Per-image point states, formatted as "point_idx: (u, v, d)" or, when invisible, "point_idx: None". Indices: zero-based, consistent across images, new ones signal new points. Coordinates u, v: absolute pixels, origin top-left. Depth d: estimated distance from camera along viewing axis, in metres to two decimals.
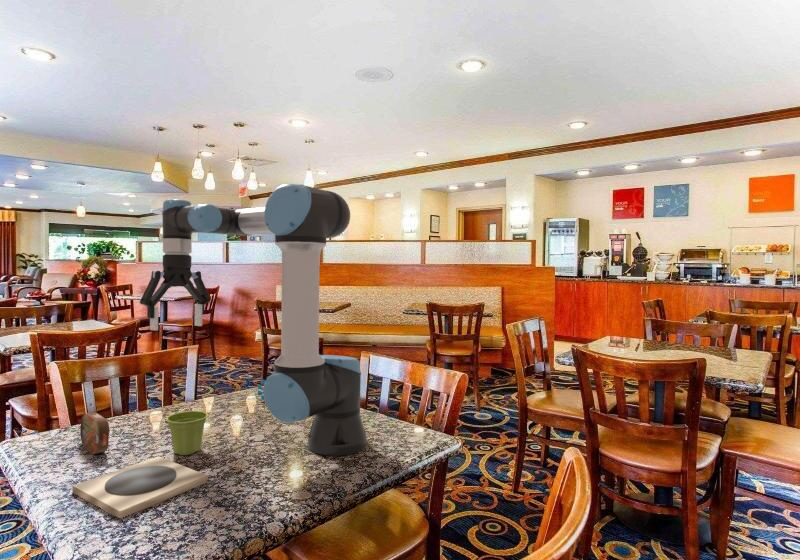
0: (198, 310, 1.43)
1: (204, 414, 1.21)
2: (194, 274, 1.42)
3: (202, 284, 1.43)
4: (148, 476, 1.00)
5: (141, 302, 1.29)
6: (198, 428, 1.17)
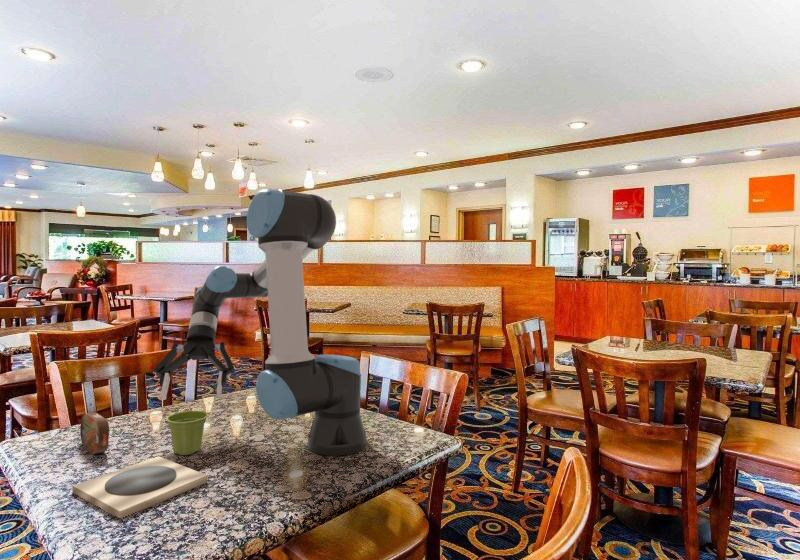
0: None
1: (204, 414, 1.21)
2: None
3: (225, 353, 1.34)
4: (148, 476, 1.00)
5: (155, 372, 1.29)
6: (198, 428, 1.17)
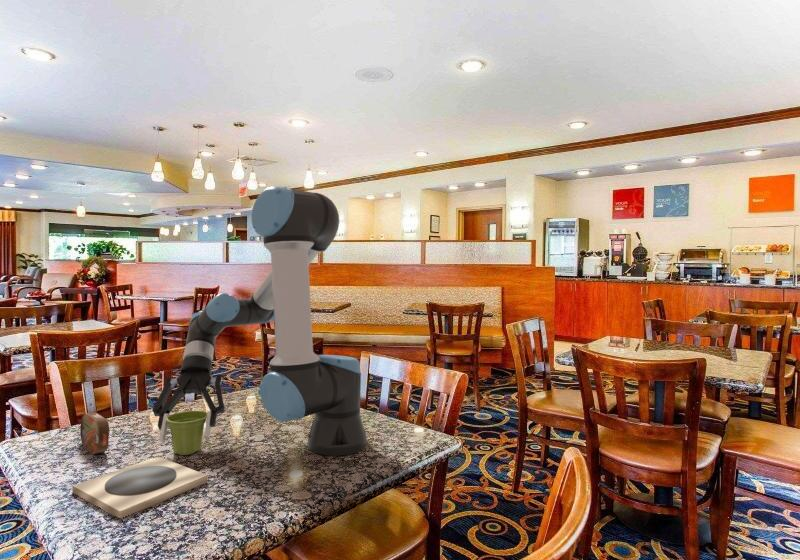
0: (207, 419, 1.19)
1: (204, 414, 1.21)
2: (214, 379, 1.27)
3: (218, 389, 1.24)
4: (148, 476, 1.00)
5: (154, 413, 1.19)
6: (198, 428, 1.17)
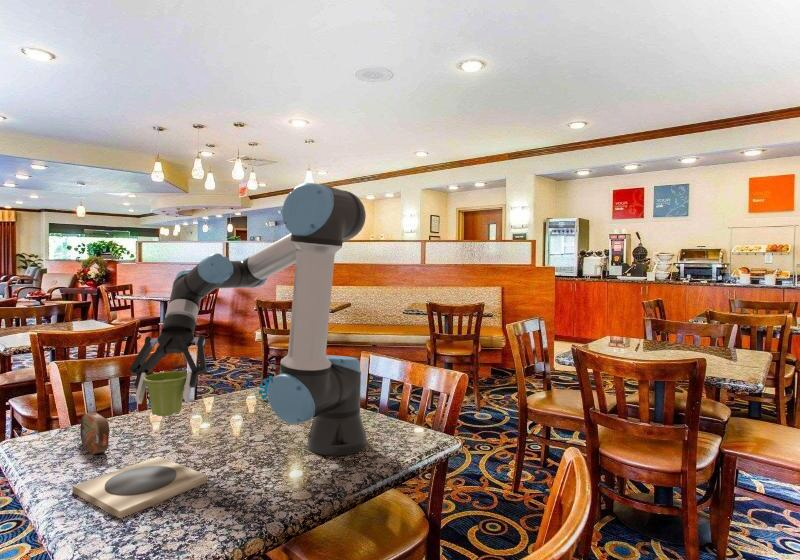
0: None
1: (185, 375, 1.15)
2: (197, 339, 1.20)
3: (200, 349, 1.17)
4: (148, 476, 1.00)
5: None
6: (177, 388, 1.10)
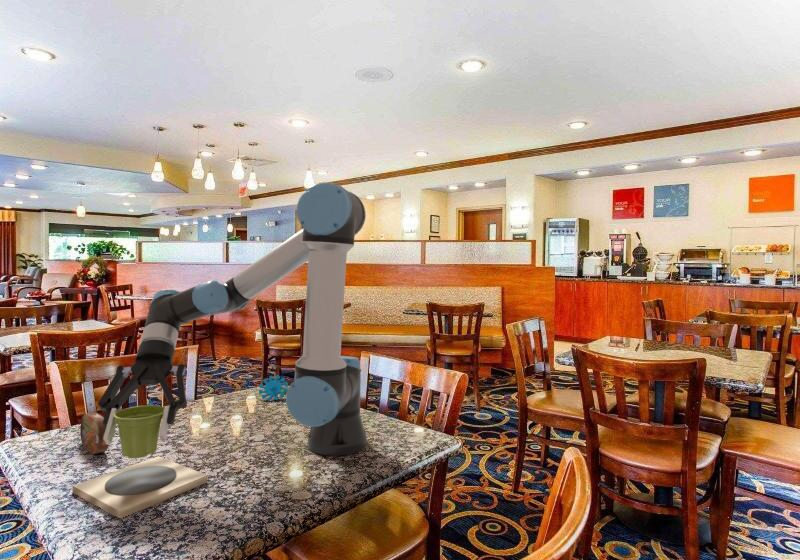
0: None
1: (161, 409, 1.02)
2: (176, 369, 1.07)
3: (180, 380, 1.05)
4: (148, 476, 1.00)
5: None
6: (152, 425, 0.97)
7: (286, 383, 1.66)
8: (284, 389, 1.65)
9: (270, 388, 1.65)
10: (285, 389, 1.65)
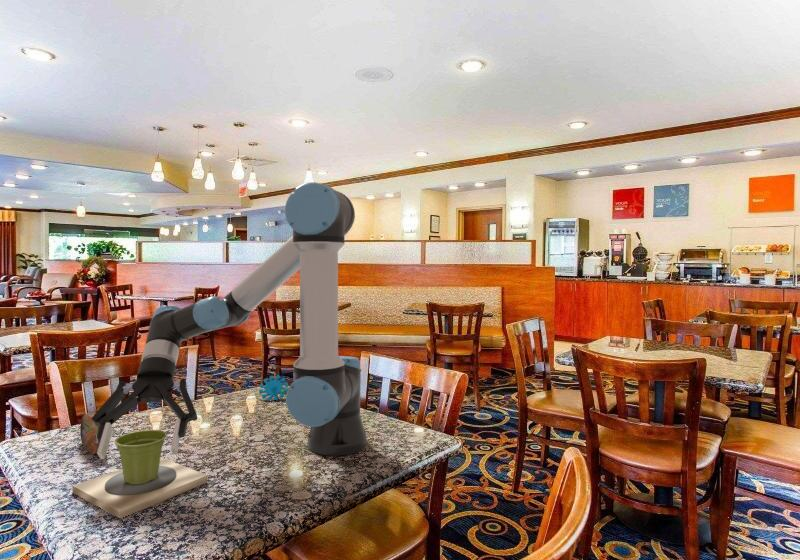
0: None
1: (163, 434, 1.02)
2: None
3: (185, 394, 1.05)
4: None
5: None
6: (153, 451, 0.97)
7: (286, 383, 1.67)
8: (284, 389, 1.65)
9: (270, 388, 1.65)
10: (285, 389, 1.65)
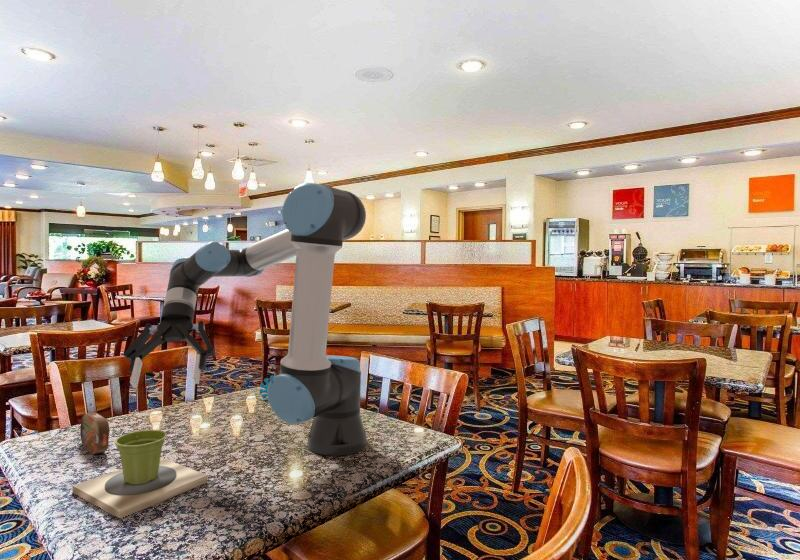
0: None
1: (163, 434, 1.02)
2: (196, 325, 1.21)
3: (203, 333, 1.19)
4: None
5: None
6: (153, 451, 0.97)
7: None
8: None
9: None
10: None
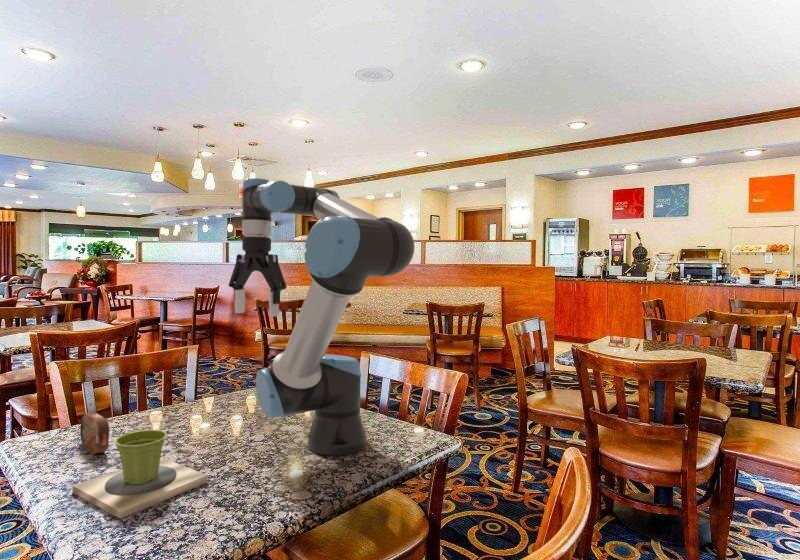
0: None
1: (163, 434, 1.02)
2: None
3: (272, 269, 1.25)
4: None
5: None
6: (153, 451, 0.97)
7: None
8: None
9: None
10: None
